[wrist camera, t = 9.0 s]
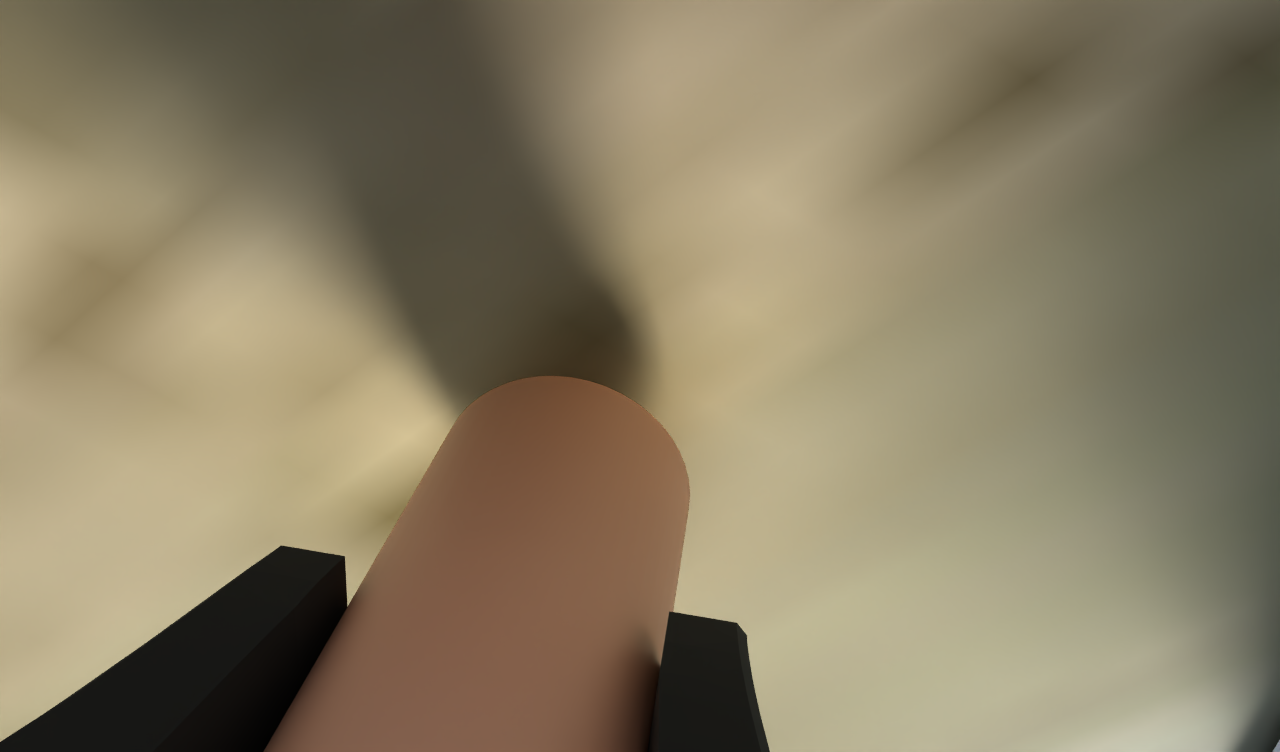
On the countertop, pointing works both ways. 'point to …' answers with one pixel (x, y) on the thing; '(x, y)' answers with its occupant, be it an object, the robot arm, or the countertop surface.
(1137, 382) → the countertop surface
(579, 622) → the dowel
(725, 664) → the robot arm
